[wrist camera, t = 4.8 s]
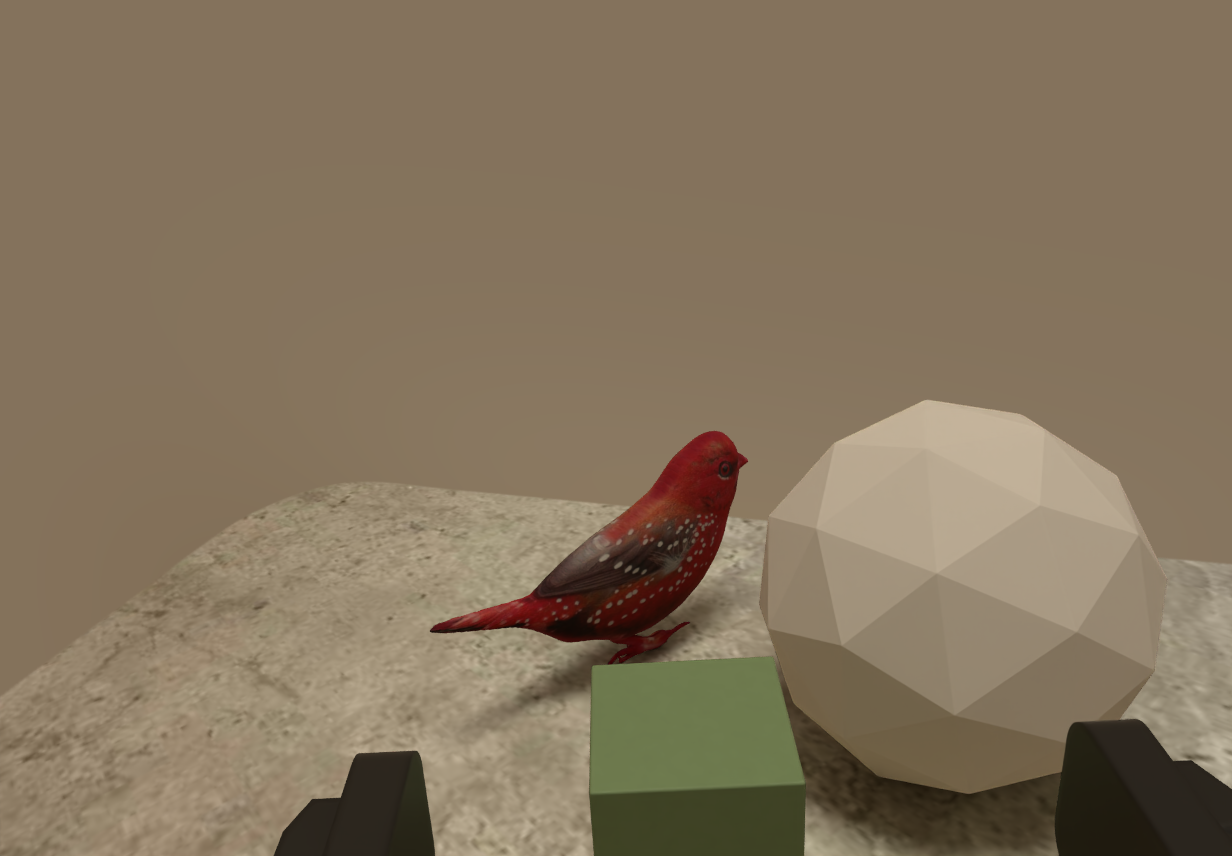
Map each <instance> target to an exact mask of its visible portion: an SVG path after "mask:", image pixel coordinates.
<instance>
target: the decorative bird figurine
mask: <svg viewBox="0 0 1232 856" xmlns="http://www.w3.org/2000/svg"><path fill="white" fill-rule="evenodd" d="M747 462H748V460H747V458H745V457H744V456H743V455H741V454H739V453H738V452H737V449H736V447H735V445H734V443H733V442H732V441H731V440H730V439H729V438H728V437H727V436H726V435H725V434H724V433H722V432H718V431H709V432H706V433H703V434H701V435H699V436H698V437H696V438H694V439H693V440H692V441H691V442H689V443H688V444H687V445H686V446H685V447H684V448H683V449H682V450H680V451H679V452H678V453H677V454H676V455H675V456H674V457H673V458H672V460H671V461H670V462H669V463H668V465H667V466H666V468H665V469H664V471H663V472H662V474H661V475H660V477H659V478H658V480H657V481H656V483H655V484H654V485H653V487H652V488H651V489H650V490H649V491H648V493H646V494H645V495H644V496H643V497H642V498H641V499H640V500H639V501H637V502H636V503H635V504H634V505H633V506H632V507H630V508H629V509H628V510H626V511H625V512H624V513H623V514H622V515H620V516H619V517H617V518H616V519H615V520H613V521H612V522H611V523H609V524H608V525H606V526H605V527H604V528H602V529H601V530H599V531H598V532H597V533H595V534H594V535H593V536H591V537H590V538H589V539H588V540H586V541H585V542H584V543H583V544H582V545H580V546H579V547H578V548H577V549H576V550H575V551H573V552H572V553H571V554H570V555H569V556H568V557H566V558H565V559H564V560H563V561H562V562H561V563H560V564H559V565H558V566H557V567H556V568H555V569H554V570H553V571H552V572H551V573H550V574H549V575H548V576H547V577H546V578H545V579H544V580H543V581H542V582H541V583H540V584H539V585H538V587H537V588H536V589H535V590H534V591H533V592H532V593H531V594H530V595H528V596H526V597H524V598H521V599H517V600H514V601H511V602H509V603H505V604H501V605H498V606H494V607H491V608H487V609H483V610H480V611H478V612H473V613H470V614H467V615H464V616H461V617H456V618H452V619H450V620H448V621H445V622H443V623H439V624H437V625H435V626H433V628H432V629H431V630H430V632H432V633H455V632H465V631H467V632H469V631H478V630H492V629H501V628H509V627H511V628H513V627H517V628H524V629H531V630H535V631H537V632H540V633H543V634H545V635H549V636H551V637H553V638H556V639H558V640H560V641H563V642H580V641H587V640H610V641H612V642H613V643H616V644H627V648H625V649H621V650H620V651H619V652H617V653H616V654H615V655H614V656H613V657H612V658H611V659H610V661H609V662H608V664H607V665H611V664H612V663H613V662H614V661H615V660H616V659H617V658H619V663H622V662H624V661H626V660H628V659H630V658H631V657H633V656H635V655H639V654H641V653H643V652H644V651H648V650H651V649H656V648H658V647H660V646H661V645H662V644H664V643H665V642H666V641H667V640H668V638H669V637H670V636H671V635H672V634H673V633H675V632H676V631H677V630H679V629H680V628H682V627H684V626H685V625H687V624H689V623H690V622H683V623H681V624H679V625H677V626H676V627H675V628H674V629H672V630H659V631H656V632H654V633H652V634H651V635H649V636H638V635H635V634H638V633H640V632H642V631H645V630H647V629H649V628H650V627H652V626H654V625H655V624H657V623H658V622H660V621H661V620H662V619H664V618H665V617H667V616H668V615H669V614H670V613H672V612H673V611H674V610H675V609H677V608H678V607H679V606H680V605H681V604H682V603H683V602H684V601H685V600H686V598H687V597H688V596H689V595H690V594H691V593H692V591H693V590H694V589H695V588H696V587H697V586H698V584H699V583H700V582H701V580H702V579H703V577H704V576H705V574H706V572H707V571H708V569H709V567H710V565H711V563H712V562H713V560H714V558H715V556H716V553H717V551H718V549H719V546H720V544H721V541H722V538H723V535H724V531H725V527H726V522H727V518H728V514H729V510H730V506H731V504H732V501H733V499H734V496H735V492H736V486H737V480H738V474H739V469H740V468H741V467H742V466H743V465H744V464H746V463H747ZM628 645H629V646H628ZM625 654H626V656H625V657H622V658H621V657H620V656H623V655H625Z"/></svg>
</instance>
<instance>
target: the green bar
mask: <svg viewBox="0 0 1232 856" xmlns="http://www.w3.org/2000/svg"><path fill="white" fill-rule="evenodd" d="M589 797H590V810H591V823H592V836H593V849H594V856H804V839H805V798H806V782H805V778H804V774H803V770H802V766H801V763H800V759H799V755H798V751H797V747H796V743H795V739H794V735H793V731H792V727H791V724H790V720H789V716H788V712H787V708H786V704H785V700H784V696H783V692H782V688H781V685H780V681H779V677H778V673H777V669H776V665H775V661H774V658H773V657H752V658H732V659H712V660H692V661H671V662H651V663H631V664H611V665H594V666H592V668H591V722H590V779H589Z"/></svg>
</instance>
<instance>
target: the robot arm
mask: <svg viewBox="0 0 1232 856" xmlns="http://www.w3.org/2000/svg"><path fill="white" fill-rule="evenodd" d="M1055 836H1056V843H1057V848H1058V852H1059V856H1232V789H1231V788H1229V787H1228V786H1226V785H1225V784H1224V783H1222V782H1221V781H1219V780H1218V779H1217V778H1215V777H1214V776H1212V775H1211V774H1210V773H1208V772H1207V771H1205V770H1204V769H1203V768H1201V767H1200V766H1198V765H1197V764H1196V763H1194V762H1193V761H1191V760H1189V761H1173V760H1172V759H1171V758H1170V756H1169V755H1168V754H1167V752H1166V751H1165V750H1164V748H1163V747H1162V746H1161V744H1160V743H1159V742H1158V740H1157V739H1156V738H1155V736H1154V735H1153V734H1152V732H1151V731H1150V730H1149V728H1148V727H1147V726H1146V725H1145V724H1144V723H1143V722H1142V721H1140V720H1138V719H1125V720H1104V721H1083V722H1074V723H1073V724H1072V725H1071V726H1070V728H1069V730H1068V734H1067V739H1066V746H1065V753H1064V759H1063V766H1062V773H1061V780H1060V787H1059V794H1058V801H1057V808H1056V815H1055ZM274 856H435V849H434V840H433V834H432V827H431V820H430V814H429V807H428V800H427V794H426V787H425V780H424V774H423V767H422V761H421V757H420V755H419V753H418V751H400V752H379V753H359V754H357V755H356V756H355V758H354V760H353V762H352V765H351V768H350V771H349V774H348V777H347V780H346V783H345V786H344V790H343V793H342V796H341V798H326V799H312V800H311V801H310V802H309V803H308V804H307V806H306V807H305V808H304V809H303V810H302V811H301V812H300V813H299V814H298V816H297V817H296V818H295V819H294V820H293V821H292V822H291V823H290V824H289V826H288V827H287V828H286V829H285V830H284V831H283V833H282V836H281V838H280V841H279V843H278V846H277V849H276V851H275V854H274Z"/></svg>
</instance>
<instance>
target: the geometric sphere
mask: <svg viewBox="0 0 1232 856" xmlns="http://www.w3.org/2000/svg"><path fill="white" fill-rule="evenodd" d="M1166 586H1167V578H1166V576H1165V574H1164V572H1163V570H1162V568H1161V566H1160V564H1159V562H1158V559H1157V557H1156V555H1155V553H1154V551H1153V549H1152V547H1151V545H1150V543H1149V541H1148V539H1147V537H1146V535H1145V533H1144V531H1143V529H1142V527H1141V525H1140V522H1139V520H1138V518H1137V517H1136V514H1135V512H1134V510H1133V508H1132V506H1131V504H1130V502H1129V500H1128V498H1127V496H1126V494H1125V492H1124V490H1123V488H1122V486H1121V483H1120V481H1119V479H1118V477H1117V476H1116V475H1115V474H1113V473H1112V472H1110V471H1109V470H1107V469H1106V468H1104V467H1102V466H1101V465H1099V464H1098V463H1096V462H1095V461H1093V460H1092V459H1090V458H1088V457H1087V456H1085V455H1084V454H1082V453H1081V452H1079V451H1078V450H1076V449H1075V448H1073V447H1072V446H1070V445H1068V444H1067V443H1065V442H1064V441H1062V440H1061V439H1059V438H1058V437H1056V436H1054V435H1053V434H1051V433H1050V432H1048V431H1047V430H1045V429H1044V428H1042V427H1041V426H1039V425H1037V424H1036V423H1034V422H1033V421H1031V420H1029V419H1028V418H1026V417H1025V416H1023V415H1021V414H1016V413H1009V412H1003V411H997V410H991V409H984V408H977V407H971V406H964V405H958V404H952V403H945V402H939V401H932V400H924V401H922V402H920V403H918V404H916V405H914V406H912V407H909V408H907V409H905V410H903V411H901V412H899V413H897V414H895V415H892V416H891V417H888V418H886V419H884V420H882V421H880V422H878V423H876V424H873V425H872V426H869V427H867V428H865V429H863V430H861V431H858V432H856V433H854V434H852V435H850V436H848V437H846V438H844V439H841V440H839V441H837V442H835V443H833V445H832V446H831V447H830V448H829V449H828V450H827V451H826V452H825V454H824V455H823V456H822V457H821V458H820V459H819V460H818V462H817V463H816V464H815V465H814V466H813V467H812V468H811V469H810V470H809V471H808V473H807V474H806V475H805V476H804V477H803V478H802V479H801V480H800V482H799V483H798V484H797V485H796V486H795V487H794V488H793V489H792V491H791V492H790V493H789V494H788V495H787V496H786V497H785V498H784V500H783V501H782V502H781V503H780V504H779V505H778V506H777V508H776V509H775V510H774V511H773V512H772V513H771V514H770V515H769V518H768V526H767V536H766V545H765V554H764V564H763V573H762V583H761V592H760V601H759V605H760V608H761V611H762V614H763V617H764V620H765V623H766V625H767V628H768V631H769V634H770V637H771V640H772V643H773V646H774V649H775V652H776V654H777V657H778V660H779V663H780V666H781V669H782V672H783V675H784V678H785V680H786V683H787V686H788V689H789V692H790V695H791V698H792V701H793V703H794V704H795V705H796V706H797V707H798V708H799V709H801V710H802V711H803V712H804V713H805V714H806V715H808V716H809V717H810V718H811V719H812V720H813V721H814V722H816V723H817V724H818V725H819V726H820V727H821V728H823V729H824V730H825V731H826V732H827V733H828V734H829V735H831V736H832V737H833V738H834V739H835V740H836V741H838V742H839V743H840V744H841V745H842V746H843V747H844V748H846V749H847V750H848V751H849V752H850V753H851V754H853V755H854V756H855V757H856V758H857V759H858V760H859V761H861V762H862V763H863V764H864V765H865V766H866V767H868V768H869V769H870V770H871V771H872V772H873V773H874V774H876V775H877V776H878V777H883V778H889V779H894V780H899V781H904V782H909V783H914V784H920V785H925V786H930V787H935V788H940V789H946V790H951V791H956V792H961V793H966V794H972V793H976V792H980V791H984V790H988V789H992V788H997V787H1001V786H1005V785H1009V784H1013V783H1017V782H1021V781H1025V780H1030V779H1034V778H1038V777H1042V776H1046V775H1050V774H1054V773H1058V772H1062V766H1063V759H1064V753H1065V746H1066V739H1067V734H1068V730H1069V728H1070V726H1071V725H1072V724H1073V723H1074V722H1083V721H1104V720H1119V719H1120V718H1121V716H1122V715H1123V714H1124V712H1125V711H1126V710H1127V708H1128V707H1129V705H1130V704H1131V703H1132V701H1133V700H1134V699H1135V697H1136V696H1137V694H1138V693H1139V692H1140V690H1141V689H1142V687H1143V686H1144V685H1145V683H1146V682H1147V681H1148V679H1149V678H1150V676H1151V675H1152V674H1153V672H1154V671H1155V665H1156V658H1157V651H1158V643H1159V636H1160V629H1161V622H1162V615H1163V607H1164V600H1165V593H1166Z"/></svg>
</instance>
